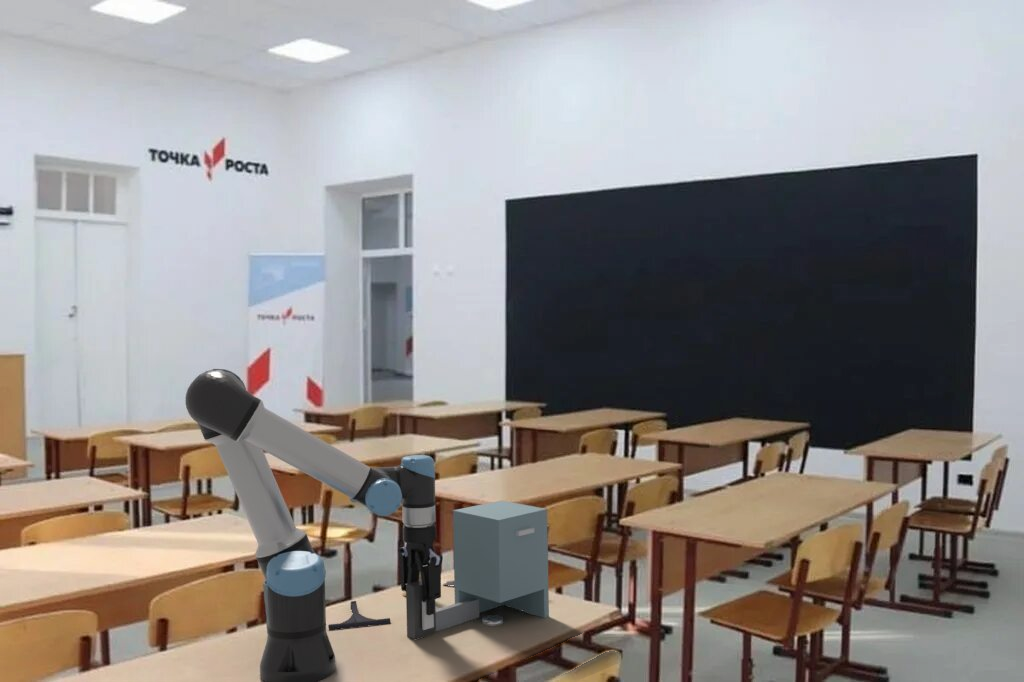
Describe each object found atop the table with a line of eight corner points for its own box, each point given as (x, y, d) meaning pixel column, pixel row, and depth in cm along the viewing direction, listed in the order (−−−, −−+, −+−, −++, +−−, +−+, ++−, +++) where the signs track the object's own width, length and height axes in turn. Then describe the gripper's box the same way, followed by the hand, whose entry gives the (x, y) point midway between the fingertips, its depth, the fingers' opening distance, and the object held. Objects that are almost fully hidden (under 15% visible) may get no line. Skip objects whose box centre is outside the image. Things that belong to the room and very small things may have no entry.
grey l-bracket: (415, 639, 203) (414, 586, 203) (407, 636, 205) (406, 584, 205) (481, 618, 217) (480, 568, 216) (473, 615, 219) (472, 566, 219)
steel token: (492, 628, 210) (492, 623, 210) (477, 623, 214) (477, 618, 214) (507, 623, 214) (507, 618, 214) (493, 618, 217) (492, 613, 217)
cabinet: (503, 634, 205) (501, 520, 205) (455, 617, 218) (453, 510, 217) (552, 617, 216) (550, 509, 216) (503, 602, 229) (501, 500, 228)
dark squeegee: (381, 607, 229) (381, 596, 229) (390, 626, 214) (390, 614, 214) (323, 614, 225) (323, 603, 224) (329, 633, 210) (328, 621, 210)
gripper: (456, 526, 202) (458, 630, 202) (409, 515, 214) (411, 613, 215) (430, 532, 197) (432, 639, 197) (383, 521, 209) (385, 621, 210)
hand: (421, 625), depth 206 cm, fingers open, 4 cm apart
